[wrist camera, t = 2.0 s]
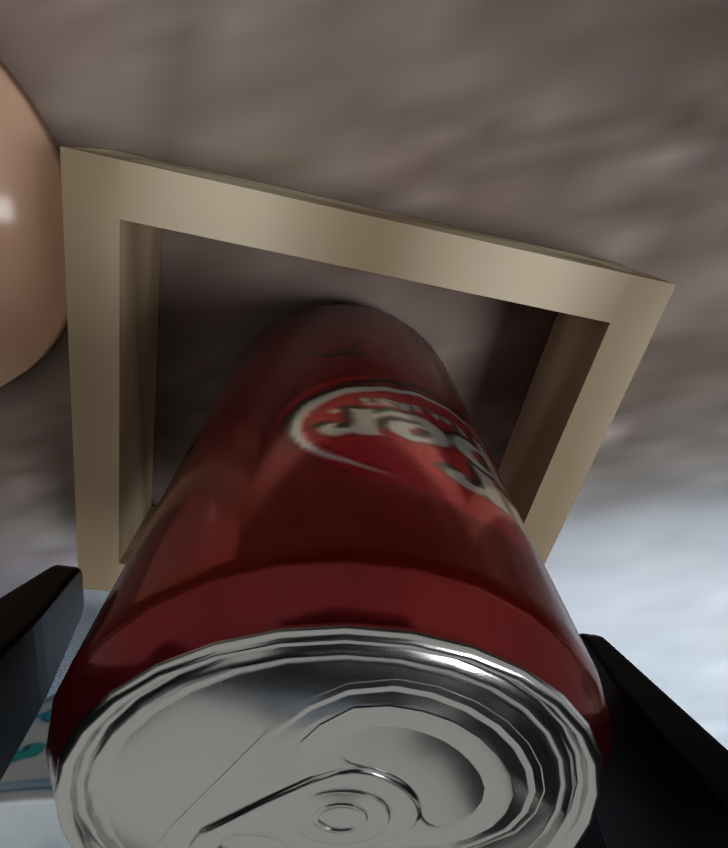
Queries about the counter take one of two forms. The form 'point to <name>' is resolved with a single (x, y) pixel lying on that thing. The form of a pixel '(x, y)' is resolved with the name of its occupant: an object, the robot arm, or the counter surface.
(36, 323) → the saucer
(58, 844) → the chinaware
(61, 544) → the counter surface
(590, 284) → the square beige frame
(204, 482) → the soda can
